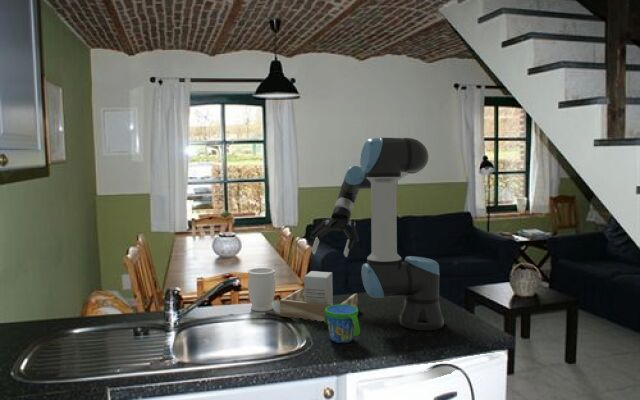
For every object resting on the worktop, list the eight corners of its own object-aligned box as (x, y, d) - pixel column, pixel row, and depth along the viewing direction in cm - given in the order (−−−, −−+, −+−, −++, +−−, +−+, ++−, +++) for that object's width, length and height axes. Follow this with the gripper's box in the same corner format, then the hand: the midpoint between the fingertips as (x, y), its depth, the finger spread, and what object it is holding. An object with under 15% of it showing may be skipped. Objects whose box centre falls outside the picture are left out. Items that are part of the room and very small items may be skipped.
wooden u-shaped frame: (301, 302, 207) (301, 287, 207) (357, 309, 198) (357, 293, 197) (280, 316, 190) (279, 300, 190) (339, 323, 181) (339, 307, 180)
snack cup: (369, 344, 161) (369, 312, 160) (340, 350, 156) (340, 318, 155) (342, 329, 175) (342, 300, 174) (315, 335, 169) (315, 305, 169)
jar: (243, 311, 196) (242, 272, 195) (254, 303, 206) (254, 266, 205) (269, 313, 193) (269, 274, 192) (279, 306, 203) (279, 268, 201)
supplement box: (310, 308, 199) (310, 270, 198) (333, 310, 197) (333, 271, 195) (303, 315, 190) (303, 275, 189) (327, 317, 188) (327, 277, 187)
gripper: (373, 218, 212) (361, 261, 200) (317, 215, 222) (303, 256, 209) (369, 207, 207) (356, 250, 194) (312, 204, 216) (297, 246, 204)
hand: (328, 253), depth 202 cm, fingers open, 13 cm apart
